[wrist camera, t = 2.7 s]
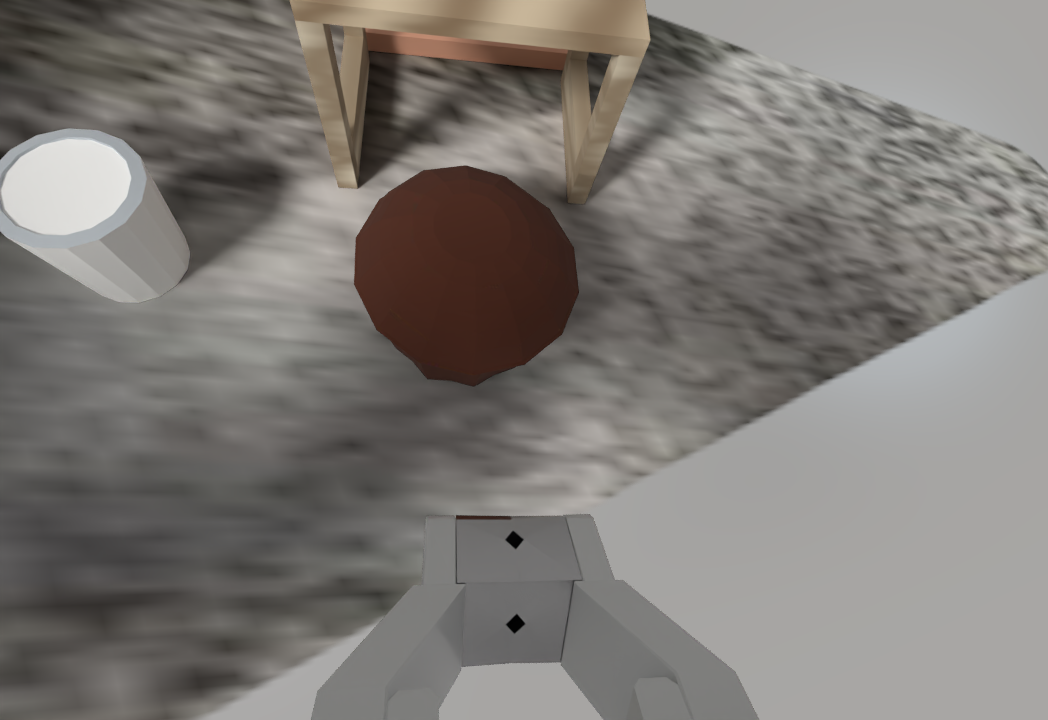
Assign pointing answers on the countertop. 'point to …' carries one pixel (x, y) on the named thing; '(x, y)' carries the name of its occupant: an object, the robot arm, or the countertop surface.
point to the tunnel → (490, 15)
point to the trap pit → (465, 49)
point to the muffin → (465, 273)
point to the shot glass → (92, 214)
